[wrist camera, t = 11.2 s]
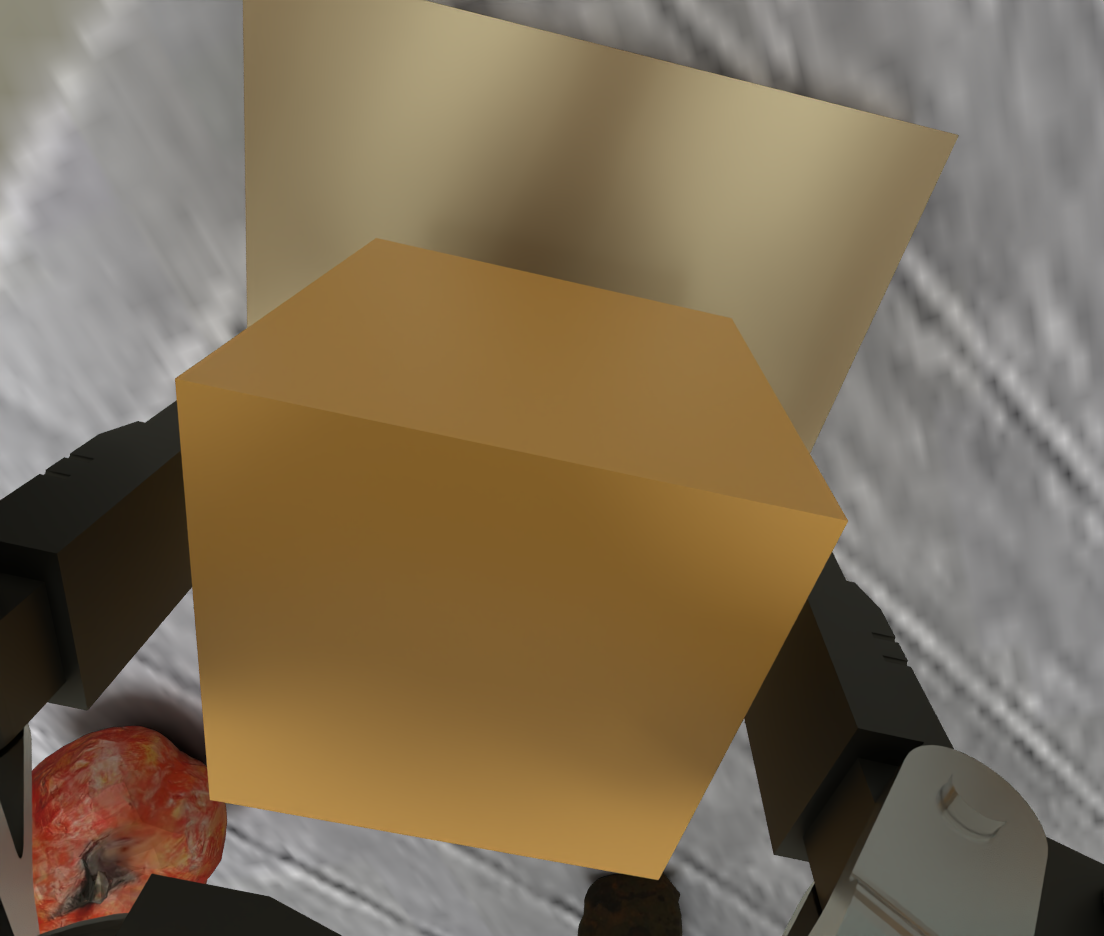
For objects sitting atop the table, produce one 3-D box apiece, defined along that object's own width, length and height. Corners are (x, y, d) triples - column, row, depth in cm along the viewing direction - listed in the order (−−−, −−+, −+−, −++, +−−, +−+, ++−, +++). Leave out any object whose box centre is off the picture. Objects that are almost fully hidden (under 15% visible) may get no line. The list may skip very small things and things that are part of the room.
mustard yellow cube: (731, 318, 11) (848, 520, 6) (635, 588, 14) (659, 879, 9) (375, 237, 11) (174, 378, 6) (354, 531, 14) (209, 800, 9)
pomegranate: (238, 788, 30) (303, 874, 22) (78, 942, 27) (86, 1113, 18) (124, 669, 28) (149, 718, 20) (-68, 818, 24) (-131, 950, 16)
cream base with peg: (914, 129, 14) (1433, 194, 5) (709, 601, 20) (784, 985, 12) (290, -28, 13) (-314, -255, 5) (281, 506, 20) (22, 835, 11)
